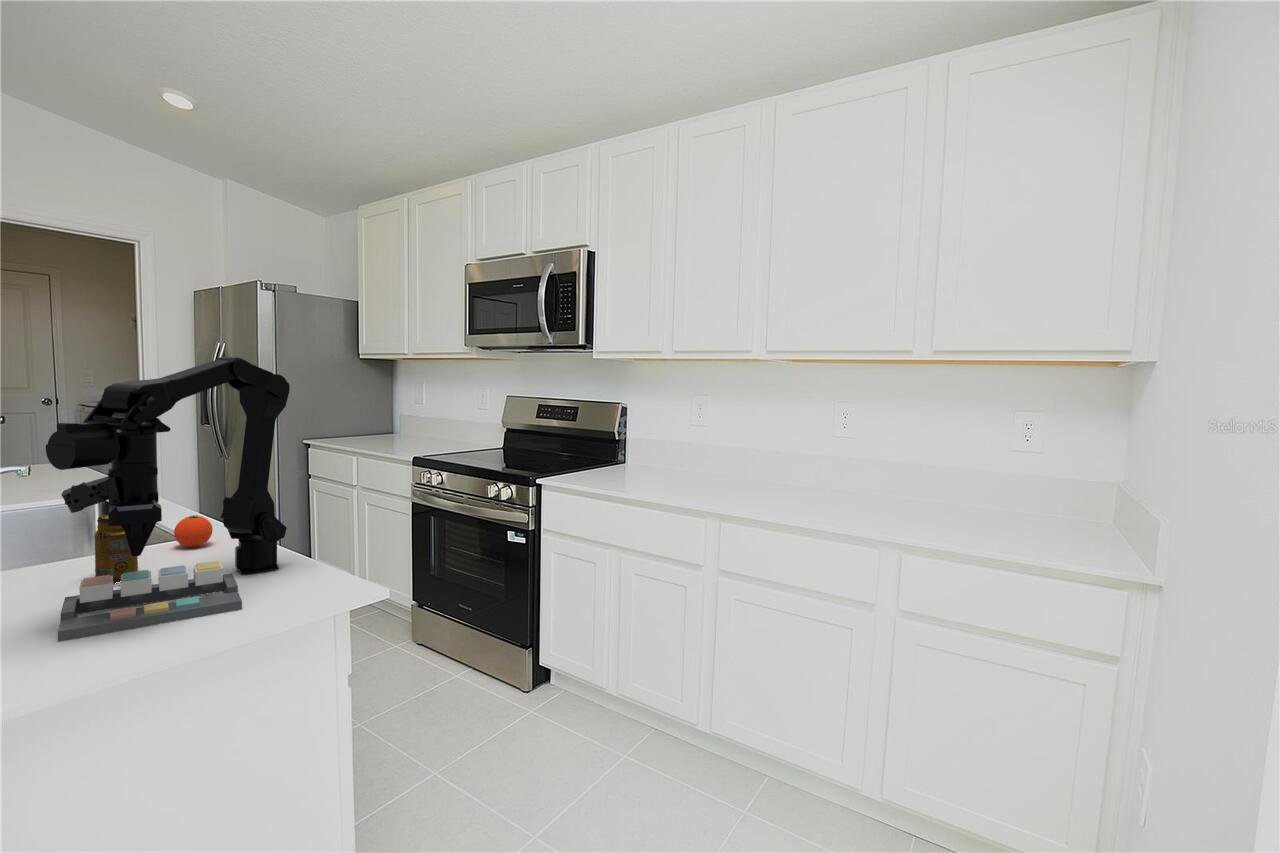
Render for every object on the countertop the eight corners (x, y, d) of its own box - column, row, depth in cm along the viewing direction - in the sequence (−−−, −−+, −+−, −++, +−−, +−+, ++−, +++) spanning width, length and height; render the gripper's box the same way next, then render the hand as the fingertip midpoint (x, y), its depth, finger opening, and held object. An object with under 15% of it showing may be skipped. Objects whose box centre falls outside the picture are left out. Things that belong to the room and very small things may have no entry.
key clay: (113, 597, 98) (112, 573, 98) (112, 606, 95) (112, 581, 94) (81, 602, 96) (81, 578, 95) (79, 611, 92) (79, 586, 92)
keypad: (232, 586, 111) (232, 573, 111) (241, 609, 101) (241, 594, 101) (65, 612, 97) (65, 597, 96) (57, 641, 87) (57, 624, 87)
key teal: (151, 592, 101) (150, 569, 101) (151, 600, 98) (151, 576, 98) (121, 596, 99) (121, 572, 98) (121, 605, 95) (120, 580, 95)
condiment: (145, 570, 117) (145, 510, 116) (131, 585, 109) (130, 520, 109) (97, 574, 114) (96, 512, 113) (79, 589, 106) (78, 523, 105)
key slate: (186, 586, 104) (186, 564, 104) (188, 594, 101) (188, 571, 101) (158, 590, 102) (158, 568, 102) (159, 599, 99) (159, 575, 98)
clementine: (173, 543, 135) (173, 512, 134) (211, 539, 139) (211, 509, 138) (174, 552, 128) (173, 520, 128) (213, 548, 133) (213, 516, 132)
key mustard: (220, 581, 107) (219, 560, 107) (222, 589, 104) (222, 566, 104) (193, 585, 105) (193, 563, 105) (195, 593, 102) (195, 570, 101)
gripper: (70, 456, 98) (72, 548, 100) (59, 473, 84) (63, 581, 86) (157, 453, 106) (158, 539, 107) (161, 468, 91) (162, 568, 93)
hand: (136, 555), depth 98 cm, fingers closed
